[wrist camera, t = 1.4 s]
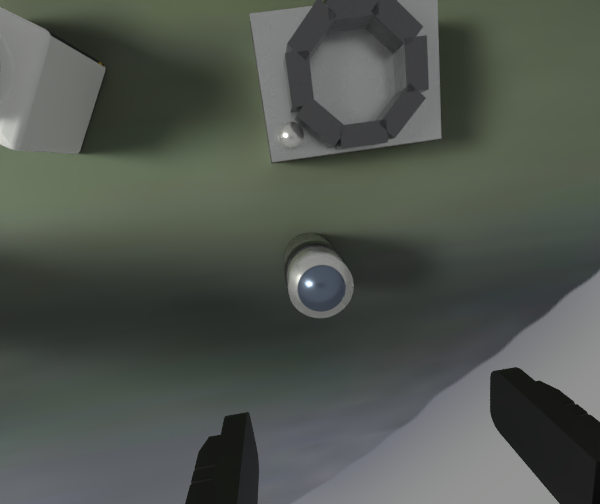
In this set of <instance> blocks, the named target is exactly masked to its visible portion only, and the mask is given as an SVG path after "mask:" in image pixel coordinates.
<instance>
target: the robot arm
mask: <svg viewBox="0 0 600 504" xmlns="http://www.w3.org/2000/svg"><path fill="white" fill-rule="evenodd" d="M490 381H491V382H490V412H491V417H492V420H493V422H494V424H495V427H496V428H497V430H498V431H499V432H500V434H501V435H502V436H503V437H504V438H505V440H506V441H507V442H508V443H509V444H510V446H511V447H512V448H513V449H514V450H515V451H516V453H517V454H518V455H519V456H520V457H521V458H522V460H523V461H524V462H525V463H526V464H527V466H528V467H529V468H530V469H531V470H532V471H533V473H534V474H535V475H536V476H537V477H538V478H539V480H540V481H541V482H542V483H543V484H544V486H545V487H546V488H547V489H548V490H549V491H550V493H551V494H552V495H553V496H554V497H555V498H556V500H557V501H558V502H559V503H560V504H600V422H599V421H598V420H596V419H595V418H594V417H593V416H591V415H588V413H587V412H586V411H585V410H584V409H583V408H581V407H580V406H579V405H575V403H574V401H572V400H571V399H570V398H569V397H567V396H566V395H565V394H563V393H562V392H561V391H560V390H558V389H556V388H554V387H552V386H550V385H547V384H545V383H543V382H541V381H534V380H533V379H532V378H531V377H529V376H528V375H527V374H526V373H525V372H524V371H522V370H521V369H519V368H516V367H515V368H509V369H503V370H497V371H493V372H492V373H491V378H490ZM258 481H259V461H258V453H257V447H256V442H255V438H254V433H253V428H252V423H251V418H250V415H249V413H248V412H246V413H240V414H235V415H229V416H225V418H224V422H223V427H222V432H221V435H217V436H211V437H209V438H208V439H207V441H206V442H205V444H204V445H203V447H202V448H201V449H200V451H199V453H198V457H197V461H196V465H195V471H194V473H193V476H192V480H191V485H190V488H189V492H188V495H187V499H186V503H185V504H257V502H258Z"/></svg>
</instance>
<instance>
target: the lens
mask: <svg viewBox="0 0 600 504" xmlns="http://www.w3.org/2000/svg"><path fill="white" fill-rule="evenodd" d="M284 258H285V278H286V283H287V286H288V291H289V296H290V299H291V301H292V303H293V305H294V306H295V308H296V309H297V310H298V311H300V312H301V313H303V314H304V315H307V316H309V317H313V318H326V317H330V316H333V315H335V314H337V313H339V312H340V311H341V310H343V309H344V308H345V307H346V306H347V304H348V303H349V301H350V299H351V297H352V294H353V289H354V282H353V278H352V275H351V273H350V271H349V269H348V268H347V266H346V265H345V263H344V261H343V259H342V257H341V256H340V255H339V253H338V252H337V251H336V250H335V249H334V248H333V247H332V246H331V245H330V243H329V242H328V241H327V240H326V239H325V238H324V237H322V236H321V235H318V234H315V233H304V234H301V235H298V236H296V237H295V238H294V239H292V240H291V241H290V243H289V244H288V246H287V248H286V250H285V256H284Z"/></svg>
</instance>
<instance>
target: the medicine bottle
mask: <svg viewBox="0 0 600 504" xmlns="http://www.w3.org/2000/svg"><path fill="white" fill-rule="evenodd" d="M105 71H106V68H105V66H104V65H103V64H102V63H101V62H99V61H98V60H96V59H94V58H93V57H91V56H89V55H88V54H86V53H84V52H83V51H81V50H79V49H78V48H76V47H74V46H73V45H71V44H69V43H68V42H66V41H64V40H63V39H61V38H59V37H58V36H56V35H54V34H53V33H51V32H49V31H48V30H46V29H44V28H42V27H40V26H38V25H36V24H34V23H32V22H30V21H28V20H26V19H24V18H22V17H20V16H18V15H16V14H13V13H11V12H9V11H7V10H5V9H3V8H1V7H0V145H3V146H5V147H7V148H10V149H12V150H18V151H34V152H51V153H67V154H77V153H79V152H80V150H81V147H82V144H83V140H84V137H85V134H86V131H87V128H88V125H89V121H90V118H91V115H92V112H93V109H94V106H95V102H96V99H97V96H98V93H99V90H100V86H101V83H102V80H103V77H104V74H105Z"/></svg>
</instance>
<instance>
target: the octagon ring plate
mask: <svg viewBox="0 0 600 504" xmlns="http://www.w3.org/2000/svg"><path fill="white" fill-rule="evenodd" d="M250 20H251V21H250V25H251V32H252V38H253V45H254V52H255V58H256V65H257V71H258V78H259V84H260V91H261V98H262V104H263V111H264V117H265V124H266V130H267V137H268V144H269V150H270V157H271V163H279V162H286V161H293V160H300V159H307V158H314V157H322V156H329V155H336V154H343V153H350V152H357V151H364V150H371V149H379V148H386V147H393V146H400V145H407V144H414V143H421V142H427V141H434V140H435V139H441V106H440V71H439V36H438V1H437V0H324V1H323V2H322V1H321V0H316V2H315V3H314V5H313V6H308V7H300V8H292V9H283V10H275V11H267V12H259V13H250Z"/></svg>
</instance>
